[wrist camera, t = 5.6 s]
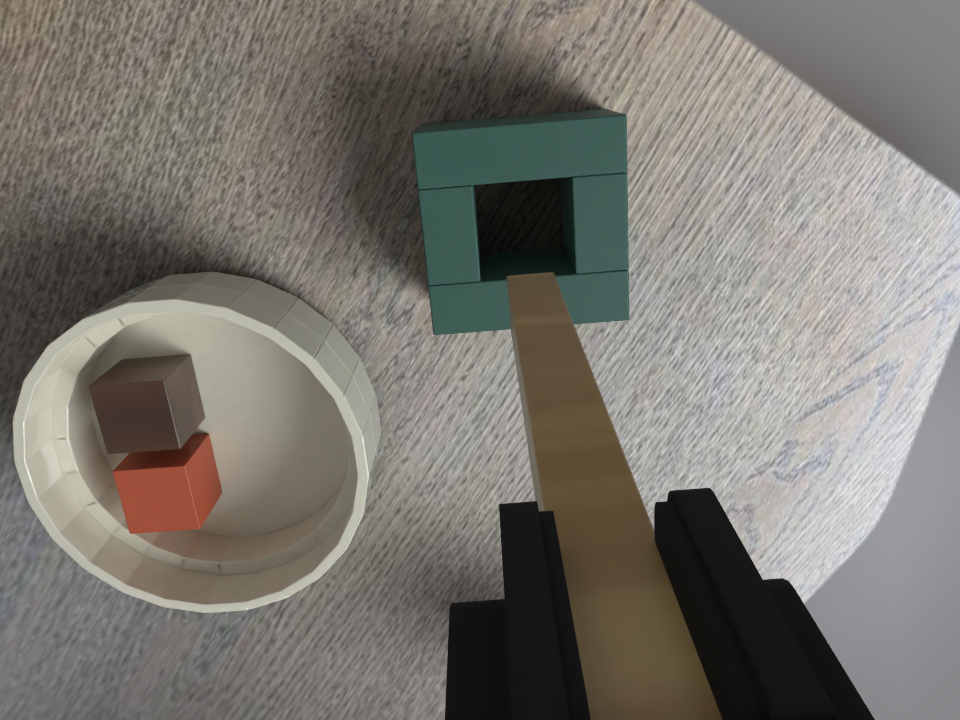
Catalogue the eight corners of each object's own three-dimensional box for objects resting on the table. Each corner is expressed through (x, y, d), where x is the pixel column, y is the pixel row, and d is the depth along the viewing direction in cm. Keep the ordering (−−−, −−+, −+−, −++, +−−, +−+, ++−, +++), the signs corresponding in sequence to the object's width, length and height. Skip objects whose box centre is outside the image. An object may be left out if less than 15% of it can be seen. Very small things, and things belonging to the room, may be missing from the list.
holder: (421, 124, 39) (411, 133, 34) (605, 108, 39) (626, 114, 33) (439, 301, 43) (433, 335, 37) (609, 287, 42) (629, 320, 37)
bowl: (32, 283, 42) (-36, 315, 37) (358, 257, 42) (340, 285, 36) (114, 559, 49) (67, 623, 43) (398, 539, 48) (387, 601, 43)
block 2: (142, 438, 45) (111, 471, 41) (209, 433, 45) (184, 466, 41) (158, 497, 46) (129, 534, 43) (223, 492, 46) (200, 529, 43)
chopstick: (506, 275, 24) (622, 1005, 5) (553, 271, 24) (838, 994, 5) (509, 320, 25) (626, 1128, 6) (556, 317, 25) (820, 1117, 6)
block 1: (121, 359, 43) (87, 386, 39) (191, 353, 43) (163, 380, 39) (138, 422, 45) (107, 454, 41) (205, 417, 44) (180, 449, 41)
